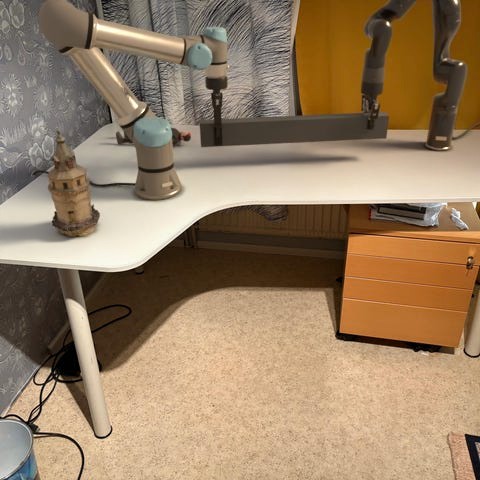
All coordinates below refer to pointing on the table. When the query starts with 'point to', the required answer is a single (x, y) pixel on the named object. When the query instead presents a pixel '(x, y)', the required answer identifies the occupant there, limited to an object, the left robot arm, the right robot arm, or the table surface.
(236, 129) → the post
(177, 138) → the toy
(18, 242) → the table surface
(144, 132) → the left robot arm
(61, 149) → the miniature building
